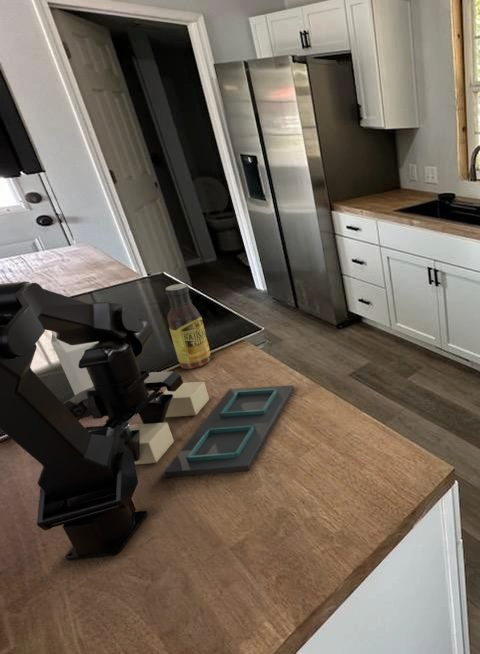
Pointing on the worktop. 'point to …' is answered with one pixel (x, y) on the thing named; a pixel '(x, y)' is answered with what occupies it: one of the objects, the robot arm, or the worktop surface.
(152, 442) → the pad
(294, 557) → the worktop surface
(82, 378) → the milk carton
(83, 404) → the robot arm
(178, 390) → the pad
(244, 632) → the worktop surface
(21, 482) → the worktop surface
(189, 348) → the sauce bottle
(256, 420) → the back board
